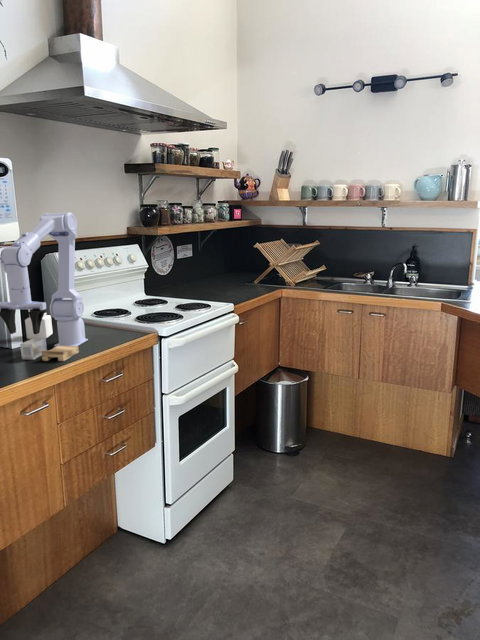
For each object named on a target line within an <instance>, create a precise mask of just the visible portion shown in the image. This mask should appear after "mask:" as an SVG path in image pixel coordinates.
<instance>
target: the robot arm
mask: <svg viewBox="0 0 480 640" xmlns="http://www.w3.org/2000/svg"><path fill="white" fill-rule="evenodd" d="M47 236H49V237H50V238H52V239H53V240H56V242H57V243H58V251H57V252H58V257H57V259H58V260H57V263H58V264H57V269H58V271H57V272H58V273H57V274H58V275H57V276H58V277H57V281H58V282H57V283H58V284H57V285H58V286H57V290H56V291H55V292H54V293H53V294H51V299H50V300H51V301H50V304H49V313H50V315H51V317H53V318H54V321H56V326H57V336H58V343H56V344H54V345H53V348H55V347H57V346H78V347H79V346H81V345H82V344H84V343H85V342H87V341H88V340H89V339H88V338H86V332H85V331H86V330H85V329H86V328H85V322H84V320H83V318H82V316H83V314H84V311H85V307H84V303H83V296H82V295H81V294H80V293H79V292H77V291H76V289H75V280H76V279H75V272H76V271H75V270H76V269H75V265H76V264H75V262H76V261H75V260H76V259H75V258H76V252H75V248H76V245H75V244H76V239H77V238H78V221H77V218H76V217H75V215H74V214H73V213H72V212H69V211H68V212H53V213H51V212H44V213H43V214H42V215H41V216H40V217H39V222H38V223H37V224H36V226H34V228H33V229H32V230H31V231H26V232H22V233H21V236H20V237H19V238H18V239H17V240H16V241H14V242H13V243H12V245H10V246H5V247H4V248H2V250H1V251H0V263H1V265H2V267H3V271H4V272H5V274H6V279H7V288H8V295H9V301H0V318H1V319H2V320H3V322H4V323H5V325H6V328H7V329H8V332H9V334H10V335H13V334H16V333H17V327H16V312H17V311H16V310H28V309H30V310H33V311H30V312H28V311H27V313H28V316H29V317H30V318H31V321H32V327H33V333H34V334H38V333H40V325H41V321H42V318H43V315H44V313H45V309H46V310H47V302H45V301H32V295H31V288H30V279H29V271H28V265H30V263H31V260H32V257H33V254H34V253H36V251H37V250H38V249H40V247H41V241H42V240H44V238H45V237H47Z"/></svg>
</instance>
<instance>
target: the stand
mask: <svg viewBox="0 0 480 640" xmlns="http://www.w3.org/2000/svg"><path fill="white" fill-rule="evenodd" d="M79 349H80V348H79V346H57V347H53V348H52V349H49V350H48V349H47V350H43V351H42V356H41V359H42V361H44V362H48V361H51V360H52V359H54V358H57V361H58V362H65V361H66V360H68V359H70V358H72V357H73V356H74V355H77V354H78V353H80V350H79Z"/></svg>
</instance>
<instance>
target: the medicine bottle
mask: <svg viewBox="0 0 480 640" xmlns="http://www.w3.org/2000/svg"><path fill="white" fill-rule="evenodd" d="M27 310H28V311H27V313H28V312H30V311H33V310H30V309H27ZM52 322H53V321H52V315H51V314H49V315H48V314H47V308H46V309H45V313H44V315H43V318H42V321H41V325H40V333H38V334H34V333H33V327H32V321H31V318H30V316H29V317H27V318H25V319H24V323H25V333H26V339H27V340H30V339H32V338H46V339H47V338H49V337H50V336H51V335H53V332H54V331H53V324H52Z"/></svg>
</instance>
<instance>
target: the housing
mask: <svg viewBox="0 0 480 640" xmlns="http://www.w3.org/2000/svg"><path fill="white" fill-rule="evenodd" d="M47 347H48V345H47V338H32V339H27V340H26V341H24V342H22V343H20V353H21V359H22V360H31V361H32V360H36V359H38V358H39V357H40V358H41V357H42V351H43V350H48V348H47Z"/></svg>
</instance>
